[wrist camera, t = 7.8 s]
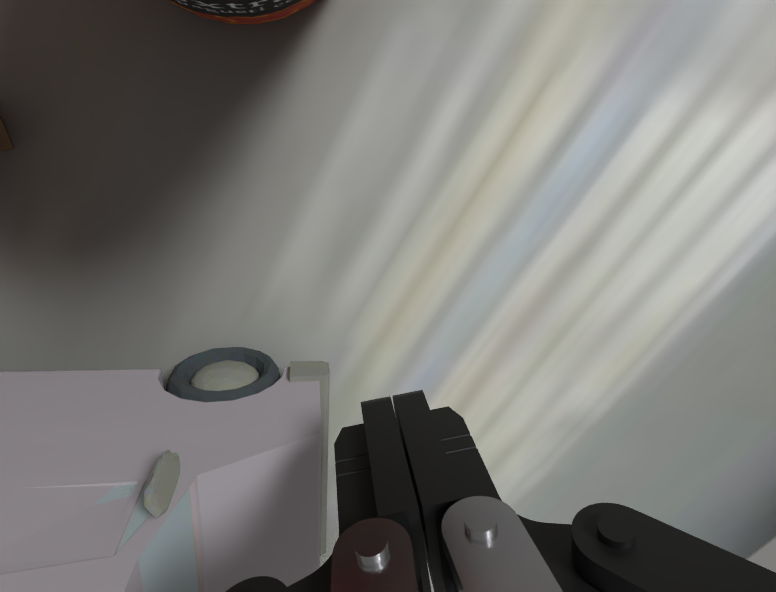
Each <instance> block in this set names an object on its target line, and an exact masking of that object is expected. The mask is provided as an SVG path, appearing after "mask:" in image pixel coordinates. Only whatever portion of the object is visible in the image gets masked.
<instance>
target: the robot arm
mask: <svg viewBox="0 0 776 592" xmlns="http://www.w3.org/2000/svg"><path fill="white" fill-rule="evenodd" d="M393 403H394V409H393V405H392V401H391V397H385V398H379V399H374V400H369V401H364V402H361V408H362V414H363V421H364V424H359V425H354V426H349V427H344V428H342V429H341V431H340V433H339V435H338V437H337V439H336V441H335V443H334V448H335V462H336V464H335V465H336V477H337V478H336V483H337V501H338V519H339V538H338V540H337V542H336V543H335V546H334V549H333V553H332V555H331V556H330V557H329V559H328V560H327V561H326V562H325V563H324V564H323V565H322V566H321V567H320V568H319V569H317V570H316V571H315V572H313V573H311V574H310V575H308V576H306V577H305V578H303V579H301V580H299V581H297V582H295V583H293V584H292V585H290V586H288V587H287V586H286V585H285V584H284V583H283V582H281V581H280V580H278V579H276V578H273V577H268V576H257V577H252V578H249V579H246V580H243V581H241V582H239V583H237V584H235V585H234V586H232V587H231V588H229V589H228V590H227V591H226V592H431V586H430V580H429V573H428V568H429V572H430V576H431V580H432V584H433V588H434V592H776V573H775V572H773V571H770V570H768V569H766V568H764V567H762V566H759V565H757V564H755V563H752V562H750V561H748V560H746V559H744V558H741V557H739V556H737V555H735V554H732V553H730V552H728V551H726V550H723V549H721V548H719V547H717V546H715V545H712V544H710V543H708V542H706V541H703V540H701V539H699V538H697V537H694V536H692V535H690V534H688V533H685V532H683V531H681V530H679V529H676V528H674V527H672V526H670V525H668V524H665V523H663V522H661V521H659V520H656V519H654V518H652V517H650V516H647V515H645V514H643V513H641V512H638V511H636V510H634V509H632V508H629V507H626V506H623V505H619V504H614V503H597V504H593V505H589V506H587V507H585V508H583V509H582V510H580V511H579V512H578V513H577V514H576V516H575V517H574V519H573V522H572V525H570V524H555V523H543V522H536V521H532V520H529V519H526V518H523V517H521V516H519V515H518V514H516V512H515V511H514V510H513V509H512V508H511V507H510V506H509V505H507V504H506V503H504V502H502V500H501V498H500V497H499V495H498V493H497V491H496V488H495V486H494V484H493V482H492V480H491V478H490V475H489V473H488V471H487V469H486V467H485V465H484V462H483V460H482V458H481V456H480V454H479V452H478V449H476V445H475V443H474V441H473V439H472V437H471V436H470V432H469V430H468V428H467V426H466V424H465V421H464V419H463V418H462V417H461V416H460V415H459V414H457V413H456V412H455V411H453V410H452V409H451V408H450V407H443V408H438V409H433V410H430V409H429V406H428V403H427V401H426V398H425V395H424V393H423V391H422V390H420V391H414V392H409V393H404V394H399V395H394V396H393ZM394 410H395V413H394ZM395 416H396V417H395ZM426 559H427V560H426ZM427 563H428V567H427Z"/></svg>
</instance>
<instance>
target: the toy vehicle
mask: <svg viewBox="0 0 776 592" xmlns="http://www.w3.org/2000/svg"><path fill="white" fill-rule="evenodd" d="M329 377H330V372H329V364H328V363H327V362H323V361H309V362H291V363H290V367H285V369H284V372H283V375H282V377H280V373H279V369H278V367H277V365H276V364H275V363H274V361H273V360H272V359H271V358H270V357H269V356H268V355H266V354H264V353H262V352H260V351H256V350H252V349H247V348H242V347H231V348H216V349H211V350H208V351H205V352H202V353H199V354H196V355H193V356H190V357H188V358H187V359H185V360H184V361H182V362H181V363H179V364H178V365H176V366H175V368H174V370H173V372H172V374H171V376H170V378H169V381H168V383H167V391H165V390H164V385H163V379H162V373H161V369H149V370H85V371H22V372H0V592H226V591H227V590H228V589H229V588H231V587H232V586H234V585H235V584H237V583H239V582H241V581H243V580H246V579H249V578H252V577H257V576H268V577H273V578H276V579H278V580H280V581H281V582H283V583H284V584H285V585H286V586H287V587H288V586H290V585H292V584H293V583H295V582H297V581H299V580H301V579H303V578H305V577H306V576H308V575H310V574H311V573H313V572H315V571H316V570H317V569H319V561H320V556H321V555H322V554H324V553H325V552H326V513H327V468H328V423H329Z"/></svg>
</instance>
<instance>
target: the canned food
mask: <svg viewBox="0 0 776 592" xmlns="http://www.w3.org/2000/svg"><path fill="white" fill-rule="evenodd" d="M168 1H170V2H171V3H173V4H174V5H176V6H179V7H181V8H183V9H185V10H187V11H189V12H192V13H194V14H196V15H198V16H200V17H203V18H208V19H212V20H216V21H221V22H225V23H229V24H260V23H264V22H269V21H273V20H278V19H282V18H285V17H287V16H289V15H291V14H293V13H295V12H297V11H299V10H301V9H303V8H305V7H307V6H309V5H310V4H311V3H312V2H314V1H315V0H168Z"/></svg>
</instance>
